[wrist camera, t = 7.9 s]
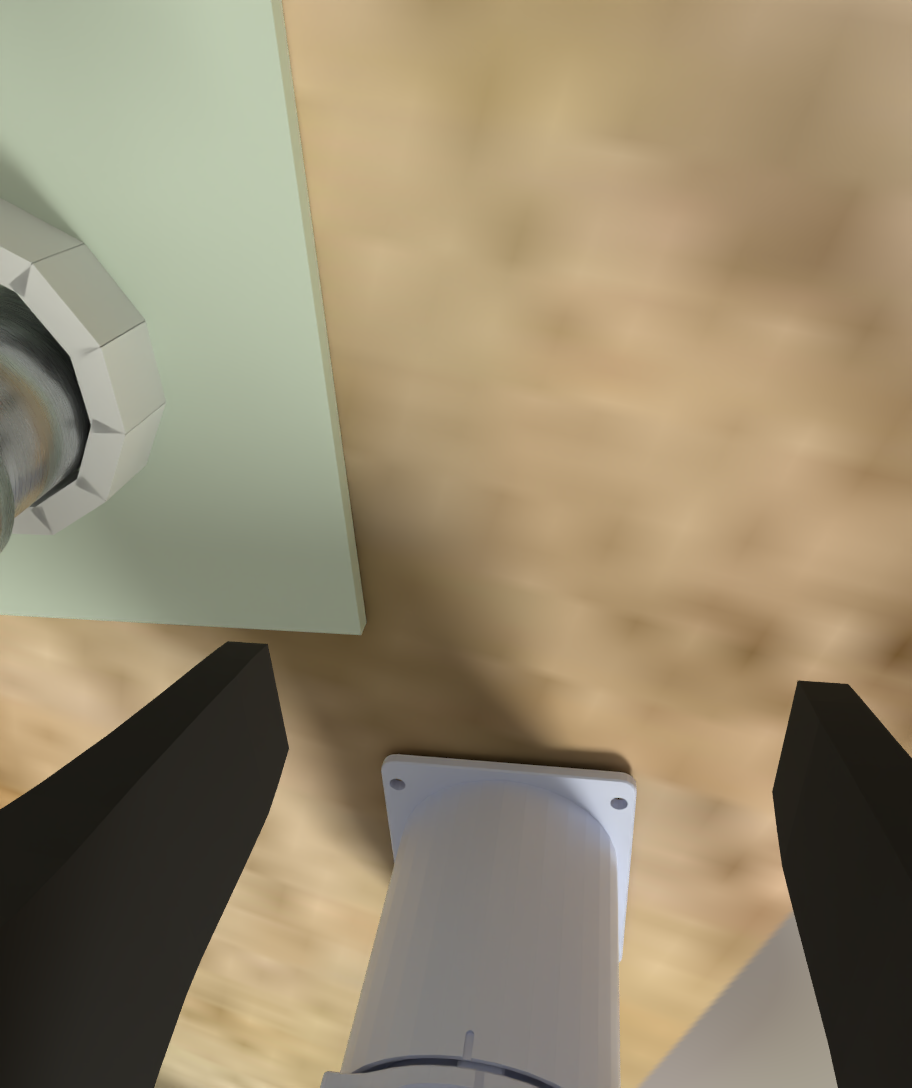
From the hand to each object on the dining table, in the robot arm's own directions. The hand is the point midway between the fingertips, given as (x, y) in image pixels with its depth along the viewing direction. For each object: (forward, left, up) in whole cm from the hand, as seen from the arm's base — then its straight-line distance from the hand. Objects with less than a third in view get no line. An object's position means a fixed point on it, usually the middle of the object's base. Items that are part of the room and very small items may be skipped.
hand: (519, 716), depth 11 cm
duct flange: (+2, +13, -10) cm, 17 cm away
